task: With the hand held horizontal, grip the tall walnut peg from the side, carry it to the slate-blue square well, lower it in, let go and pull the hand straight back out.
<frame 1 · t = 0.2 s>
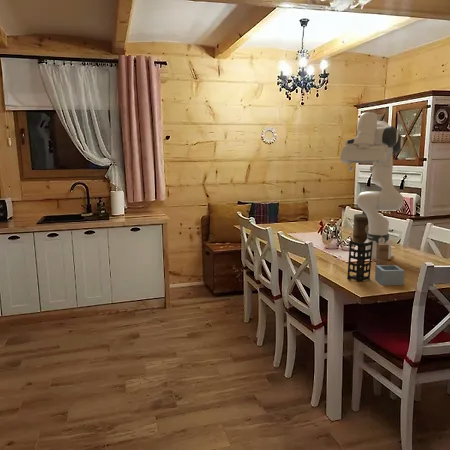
hand: (360, 170, 193), 54 cm above the table, tool tilted 30°, fingers open, 8 cm apart
well: (388, 281, 203), on the table
peg: (381, 274, 216), on the table
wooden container: (363, 241, 294), on the table
holder: (359, 280, 208), on the table
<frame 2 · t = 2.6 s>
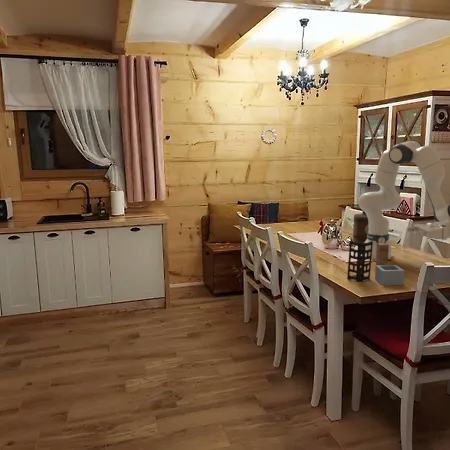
hand: (410, 231, 212), 22 cm above the table, tool horizontal, fingers open, 8 cm apart
nothing on the table moved.
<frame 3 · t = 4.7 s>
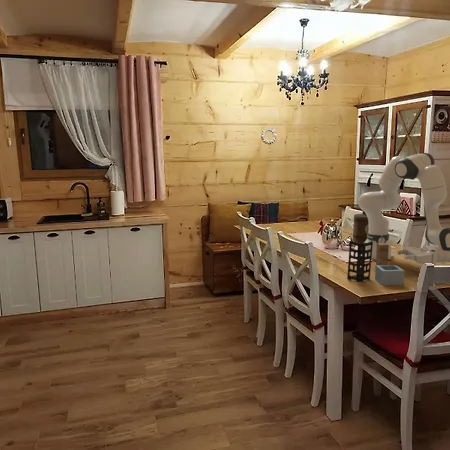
hand: (400, 254, 214), 10 cm above the table, tool horizontal, fingers open, 8 cm apart
nothing on the table moved.
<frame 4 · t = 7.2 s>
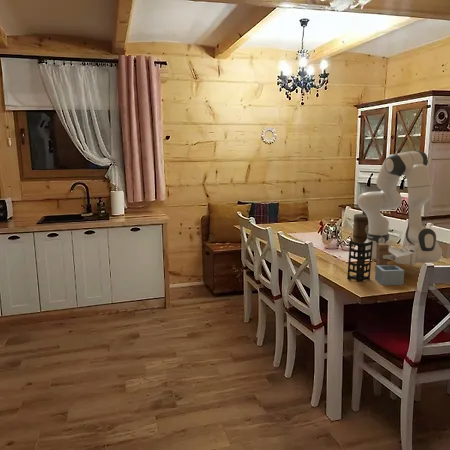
hand: (380, 255, 214), 10 cm above the table, tool horizontal, fingers closed on peg, 4 cm apart
peg: (381, 274, 216), on the table, touching gripper
everything else where it was.
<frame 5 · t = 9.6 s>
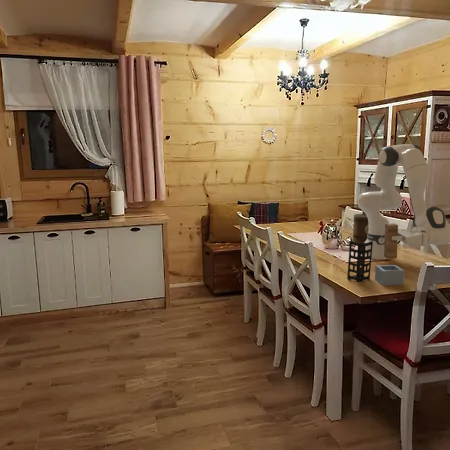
hand: (389, 236, 199), 22 cm above the table, tool horizontal, fingers closed on peg, 4 cm apart
peg: (390, 257, 201), point 12 cm above the table, touching gripper
everything else where it was.
when the fingers open (12 cm above the table, at t = 12.4 s): peg stays where it is, resting on well.
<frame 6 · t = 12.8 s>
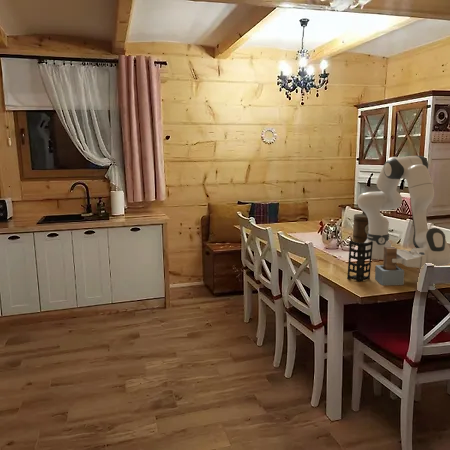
hand: (388, 257, 201), 12 cm above the table, tool horizontal, fingers open, 8 cm apart
peg: (388, 279, 203), point 1 cm above the table, touching well
everything else where it was.
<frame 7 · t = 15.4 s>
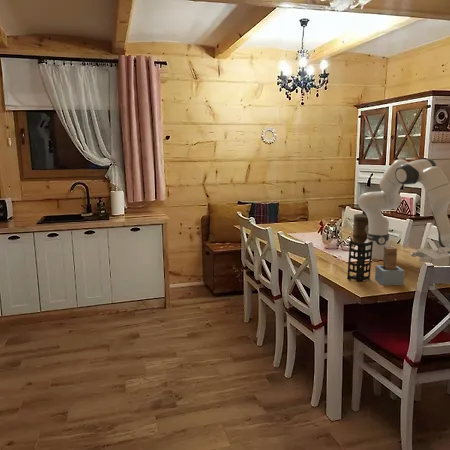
hand: (415, 257, 201), 12 cm above the table, tool horizontal, fingers open, 8 cm apart
nothing on the table moved.
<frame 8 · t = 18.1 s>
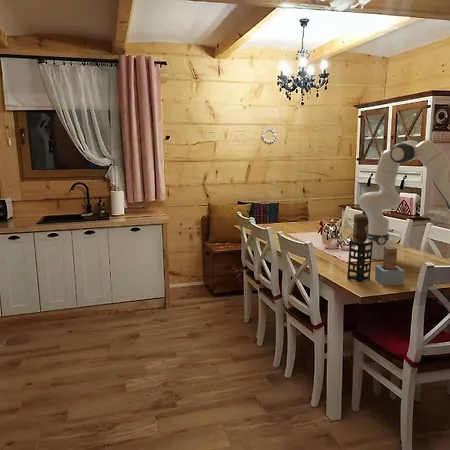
hand: (426, 217, 205), 30 cm above the table, tool horizontal, fingers open, 8 cm apart
nothing on the table moved.
at the end: peg 0.1 cm off-centre on the well, point 1.0 cm above the well's base; peg tilted 0°; the gripper is holding nothing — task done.
